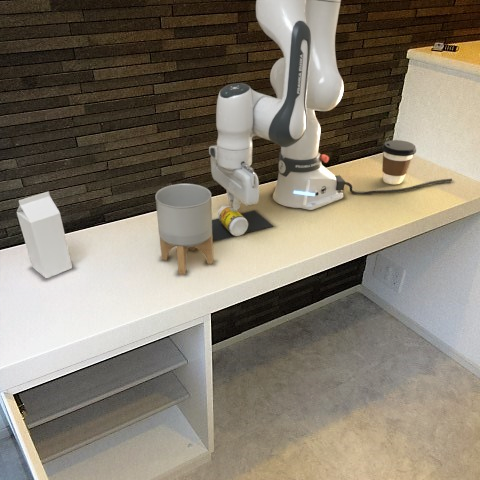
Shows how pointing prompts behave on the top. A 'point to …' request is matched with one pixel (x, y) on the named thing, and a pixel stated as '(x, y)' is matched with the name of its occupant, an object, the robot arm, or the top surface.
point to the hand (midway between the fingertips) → (234, 207)
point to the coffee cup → (396, 160)
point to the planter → (185, 221)
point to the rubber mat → (254, 224)
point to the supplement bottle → (232, 220)
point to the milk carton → (44, 235)
